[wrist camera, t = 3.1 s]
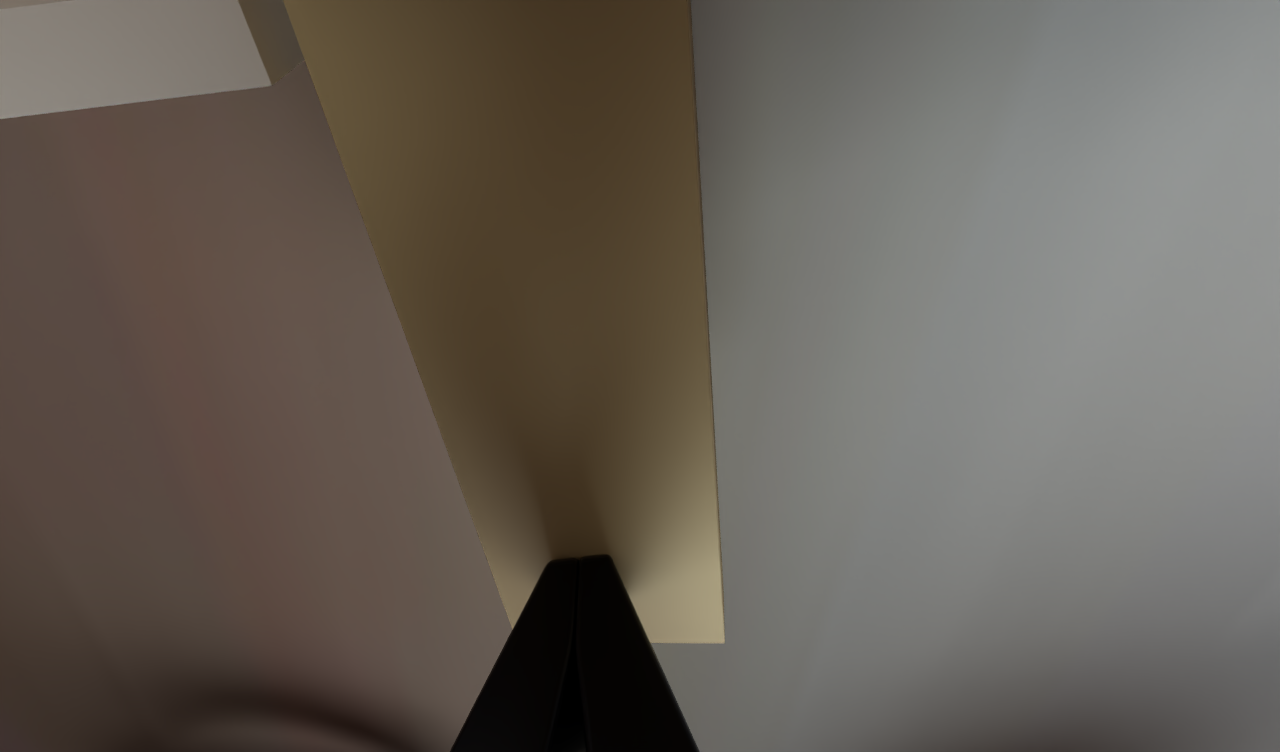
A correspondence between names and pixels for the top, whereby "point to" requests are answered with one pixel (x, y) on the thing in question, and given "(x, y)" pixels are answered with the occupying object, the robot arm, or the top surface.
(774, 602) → the top surface
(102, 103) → the dish
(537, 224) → the tan flat board
